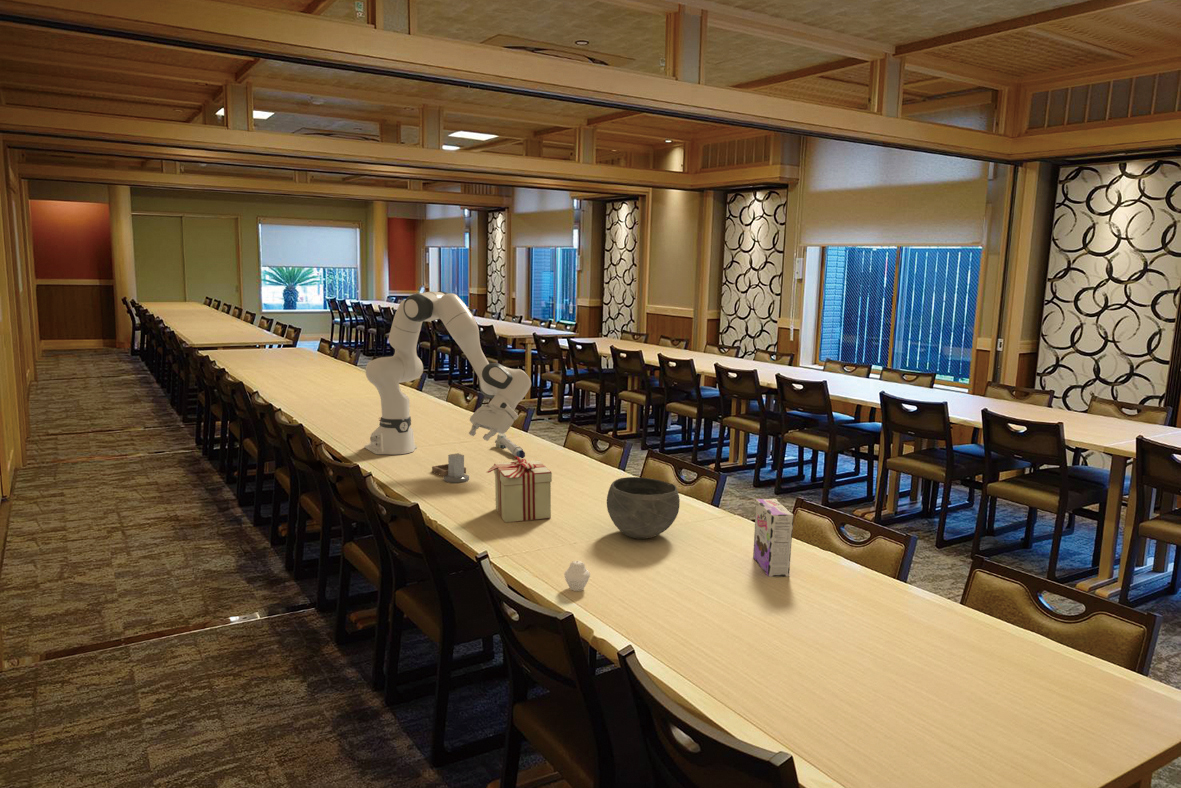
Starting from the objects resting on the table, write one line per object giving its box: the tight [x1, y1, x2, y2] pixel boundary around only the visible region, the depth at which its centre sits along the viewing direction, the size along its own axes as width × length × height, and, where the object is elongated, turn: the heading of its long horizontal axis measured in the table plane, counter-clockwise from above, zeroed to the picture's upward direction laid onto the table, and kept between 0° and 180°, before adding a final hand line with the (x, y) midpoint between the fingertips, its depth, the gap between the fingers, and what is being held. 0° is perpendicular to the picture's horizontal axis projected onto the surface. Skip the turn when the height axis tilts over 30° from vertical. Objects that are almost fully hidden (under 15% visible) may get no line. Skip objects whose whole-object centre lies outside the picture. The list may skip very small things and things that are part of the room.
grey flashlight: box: [494, 433, 526, 459], centre depth 329 cm, size 5×7×25 cm
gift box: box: [486, 456, 553, 523], centre depth 246 cm, size 17×18×17 cm
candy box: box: [752, 498, 794, 578], centre depth 207 cm, size 14×6×16 cm, turn 5°
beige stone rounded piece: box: [563, 560, 591, 592], centre depth 191 cm, size 6×6×7 cm
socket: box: [431, 463, 467, 477], centre depth 295 cm, size 9×9×2 cm
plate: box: [443, 473, 470, 484], centre depth 286 cm, size 9×9×1 cm
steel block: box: [447, 452, 465, 479], centre depth 285 cm, size 4×4×8 cm
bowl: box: [606, 476, 680, 540], centre depth 229 cm, size 21×21×15 cm
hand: (477, 437), depth 289 cm, fingers open, 8 cm apart
